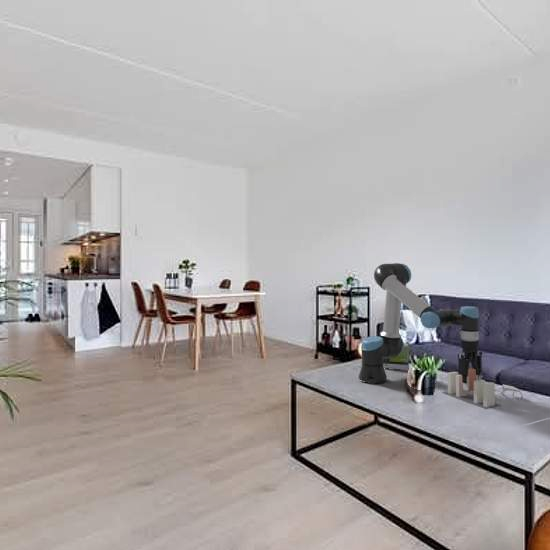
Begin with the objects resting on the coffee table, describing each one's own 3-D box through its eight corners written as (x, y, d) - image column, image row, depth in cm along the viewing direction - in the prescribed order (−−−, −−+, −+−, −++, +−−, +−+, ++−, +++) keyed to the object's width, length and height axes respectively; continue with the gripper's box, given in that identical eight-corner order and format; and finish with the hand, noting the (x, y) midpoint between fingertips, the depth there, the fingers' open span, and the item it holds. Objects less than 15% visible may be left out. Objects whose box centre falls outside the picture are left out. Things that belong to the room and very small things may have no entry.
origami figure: (493, 396, 192) (493, 386, 192) (503, 393, 197) (503, 383, 196) (519, 403, 182) (519, 393, 182) (529, 400, 186) (529, 389, 186)
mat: (441, 393, 198) (441, 392, 198) (456, 390, 202) (456, 389, 202) (486, 410, 175) (486, 409, 175) (501, 406, 179) (501, 405, 179)
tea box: (409, 367, 248) (409, 343, 247) (407, 371, 239) (407, 346, 238) (384, 365, 254) (384, 341, 253) (381, 369, 245) (381, 344, 244)
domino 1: (447, 392, 197) (447, 372, 197) (455, 391, 199) (455, 371, 199) (450, 393, 196) (450, 373, 195) (458, 392, 198) (458, 372, 197)
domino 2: (456, 395, 193) (455, 375, 192) (463, 394, 195) (463, 373, 194) (459, 396, 191) (458, 376, 191) (466, 395, 193) (466, 374, 193)
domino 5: (483, 405, 179) (483, 383, 179) (491, 404, 181) (491, 382, 181) (486, 407, 177) (486, 384, 177) (494, 405, 179) (494, 383, 179)
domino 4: (473, 402, 184) (473, 380, 183) (481, 400, 186) (481, 379, 185) (477, 403, 182) (477, 381, 182) (484, 401, 184) (484, 380, 184)
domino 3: (475, 390, 188) (475, 369, 188) (468, 391, 186) (468, 370, 186) (472, 389, 190) (472, 368, 190) (465, 390, 188) (464, 369, 188)
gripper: (462, 342, 180) (463, 394, 181) (490, 339, 188) (491, 388, 188) (449, 340, 187) (449, 389, 188) (476, 336, 195) (477, 384, 195)
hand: (470, 388), depth 188 cm, fingers closed on domino 3, 5 cm apart
